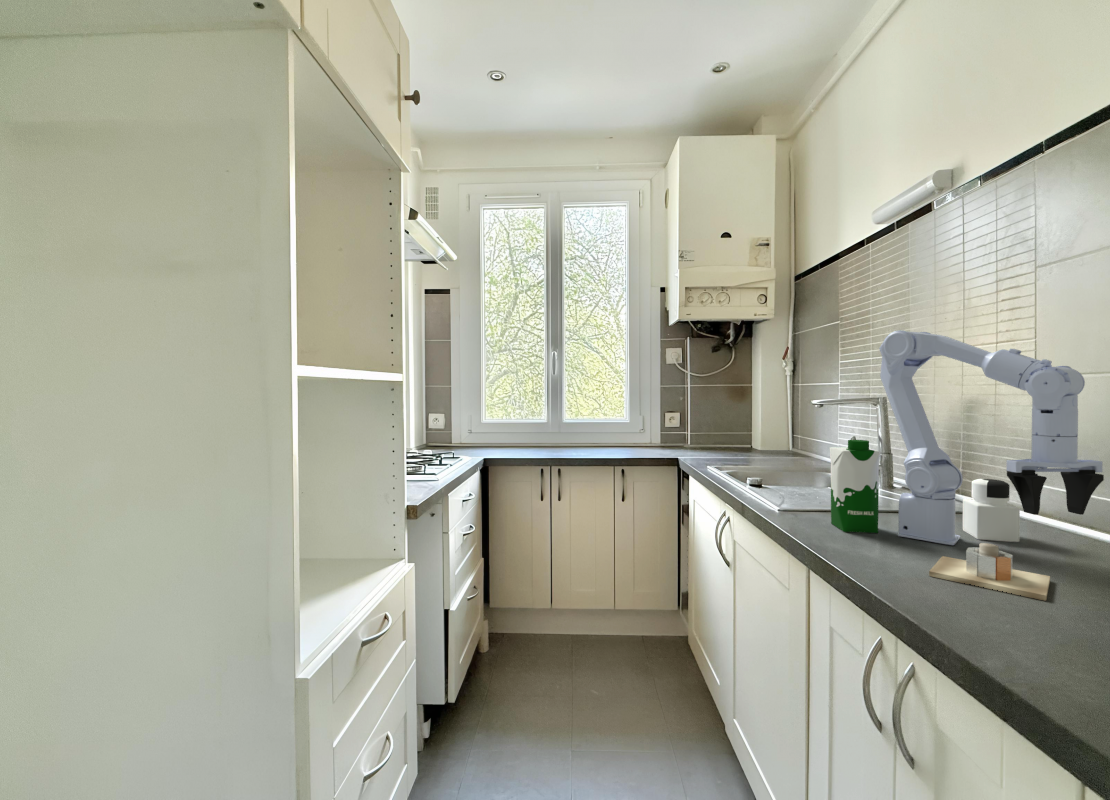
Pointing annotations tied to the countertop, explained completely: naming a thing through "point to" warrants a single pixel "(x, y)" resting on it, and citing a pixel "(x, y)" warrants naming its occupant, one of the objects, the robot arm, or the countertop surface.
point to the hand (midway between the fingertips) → (1053, 513)
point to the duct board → (1019, 584)
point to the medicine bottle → (991, 512)
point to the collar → (989, 565)
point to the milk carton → (855, 487)
